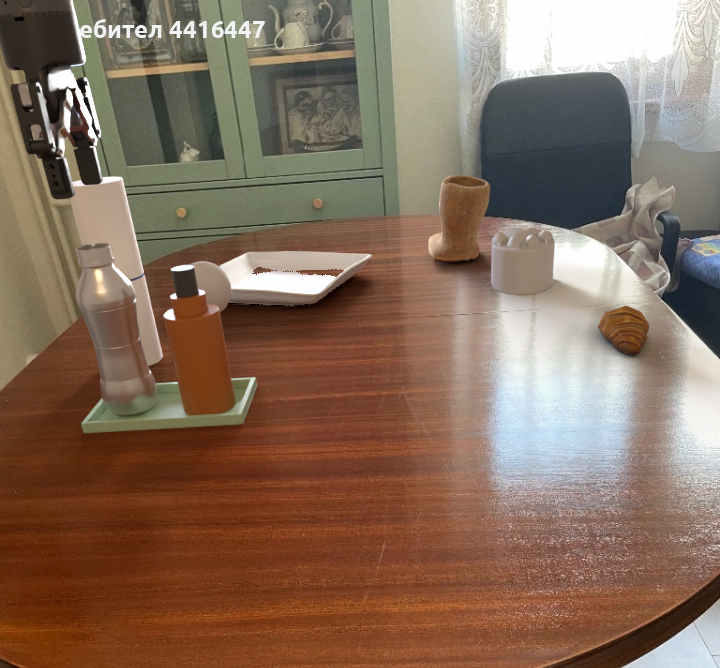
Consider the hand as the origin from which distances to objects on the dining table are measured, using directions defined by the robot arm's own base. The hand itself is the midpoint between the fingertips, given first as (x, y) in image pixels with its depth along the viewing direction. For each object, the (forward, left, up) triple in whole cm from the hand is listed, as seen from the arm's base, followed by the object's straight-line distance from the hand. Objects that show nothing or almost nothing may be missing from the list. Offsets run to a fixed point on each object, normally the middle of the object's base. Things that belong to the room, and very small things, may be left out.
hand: (79, 191), depth 77 cm
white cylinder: (+8, +13, -27) cm, 31 cm away
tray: (+5, 0, -26) cm, 27 cm away
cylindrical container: (-5, +18, -27) cm, 32 cm away
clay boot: (+46, +67, -27) cm, 85 cm away
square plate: (+12, +52, -27) cm, 60 cm away
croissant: (+64, +14, -27) cm, 70 cm away
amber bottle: (+9, 0, -26) cm, 27 cm away
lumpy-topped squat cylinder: (+55, +45, -27) cm, 76 cm away
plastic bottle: (0, 0, -26) cm, 26 cm away
